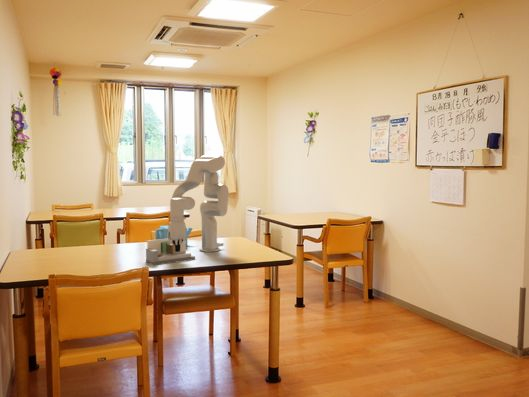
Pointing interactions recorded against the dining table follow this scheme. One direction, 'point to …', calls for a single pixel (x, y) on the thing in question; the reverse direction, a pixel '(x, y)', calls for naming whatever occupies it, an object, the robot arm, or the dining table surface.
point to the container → (164, 233)
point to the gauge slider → (168, 250)
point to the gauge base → (155, 249)
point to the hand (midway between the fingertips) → (177, 251)
